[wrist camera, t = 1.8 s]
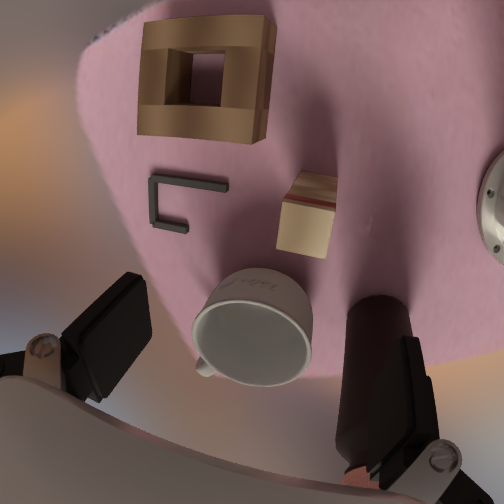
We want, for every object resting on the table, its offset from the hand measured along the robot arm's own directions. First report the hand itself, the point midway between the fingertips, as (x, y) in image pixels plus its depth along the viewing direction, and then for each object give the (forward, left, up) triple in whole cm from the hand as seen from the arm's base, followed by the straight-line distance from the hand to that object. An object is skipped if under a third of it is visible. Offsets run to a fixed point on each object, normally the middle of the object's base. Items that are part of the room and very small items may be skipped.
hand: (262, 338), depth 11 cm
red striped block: (0, 0, -19) cm, 19 cm away
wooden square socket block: (+10, -9, -19) cm, 23 cm away
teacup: (+4, +13, -19) cm, 24 cm away
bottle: (-9, +12, -19) cm, 24 cm away
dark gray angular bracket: (+12, +3, -19) cm, 23 cm away
